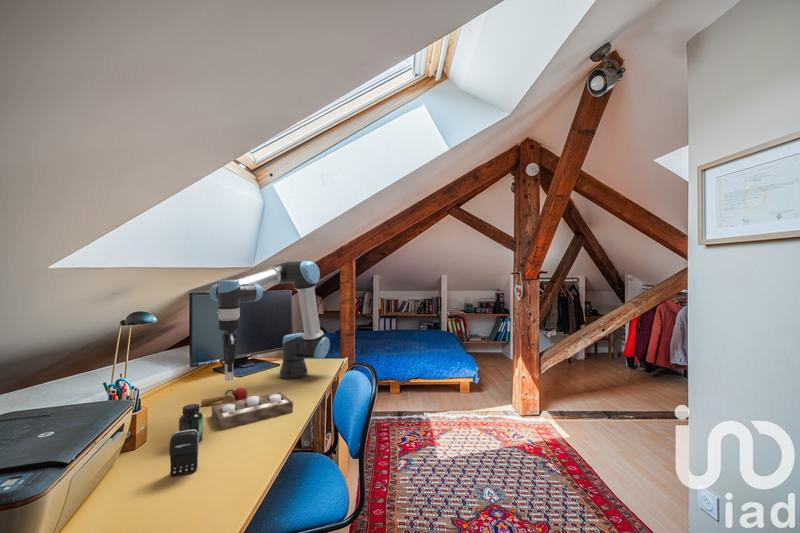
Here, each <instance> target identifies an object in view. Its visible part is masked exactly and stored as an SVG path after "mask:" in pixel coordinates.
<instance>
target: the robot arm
mask: <svg viewBox="0 0 800 533" xmlns="http://www.w3.org/2000/svg"><path fill="white" fill-rule="evenodd" d="M320 277H321V273H320V268H319V266H318V265H317V264H316V263H315V262H314V261H309V260H301V261H300V260H298V261H297V260H296V261H285V262H281V263H278V264H275V265H272V266H269V267H268V268H266V269H265V270H263V271H260V272H257V273H254V274H251V275H248V276H244V277H241V278H238V279H221V280H219V282H218V283H216V284H213V285H211V287H210V289H209V297H210V299H211V300H212V301H215V302H217V303H218V311H216V314H217V315H218V319H219V320H218V322H217V323H218V324H217V327H218V330H219V331H223V334H222V337H221V338H222V347H223V348H222V350H223V351H222V353H223V361H224V363H223V364H224V381H225V382H228V381H233V380H234V363H236V344H237V337H236V336H237V335H236V333H235V330H238V329H240V327H241V323H240V322H241V321H240V317H241V313H240V312H241V308H240V307H241V306H240V305H241V303H254V302H256V301H260V300H261V299H262V297H263V295H264V293H263V292H264V291H263V288H265V287H268V286H271V285H272V286H276V285H279V284H293V287H294V290H296V291H297V295H298V300H299V301H298V302H299V307H300V308H299V309H300V314H301V320H302V321H301V322H302V327H303V332H296V333H290V334H286V335H284V336H283V338H282V363H281V367H280V368H279V369H280V370H279V373H278V374H279V378H280V379H282V380H283V379H284V380H295V378H296V379H300V378H304V377H306V376H307V375H308V371H309V370H308V367H307V364H306V362H305V359H306V358H307V359H314V360H317V359H318V360H320V359H325V357H326V356H327V355H328V353H329V350H330V345H331V343H330V339H329V337H327V336H325V333H324V331H323V330H322V329H321V325H320V318H319V313H318V306H317V305H318V304H317V298H316V290H315V289H316V286H317V285H318V282H319V280H320Z"/></svg>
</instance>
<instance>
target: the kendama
mask: <svg viewBox="0 0 800 533" xmlns="http://www.w3.org/2000/svg"><path fill="white" fill-rule="evenodd" d="M247 398H248V391H247V389H245V388H244V387H238V388H236V389H234V388H229V389H227V390H226V391H225V393H224V395H221V396H214V397H213V396H212V397H207V398H202V399H201V402H200V403H201V407H206V406H208V405H212V404H216V403H219V402H222V404H224V403H229V402H234V401H238V400H243V399H247Z"/></svg>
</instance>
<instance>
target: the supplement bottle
mask: <svg viewBox="0 0 800 533" xmlns="http://www.w3.org/2000/svg"><path fill="white" fill-rule="evenodd" d="M181 412H182V413H181V414H182V415H181V416H180V417H179V419H178V432H179V431H184V430H191V429H194V430H197V432H198V435H199V443H201V442H202V441H203V428H204V426H203V425H204V424H203V421H204V420H203V413H202V412H201V411H200V404H199V403H191V404H186V405H184V406H183V407H182V411H181Z"/></svg>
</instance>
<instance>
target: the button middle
mask: <svg viewBox="0 0 800 533" xmlns="http://www.w3.org/2000/svg"><path fill="white" fill-rule="evenodd" d="M259 396H260V395H251V396H247V398H246V399H247V408H248V407H253V406H257V405H259Z"/></svg>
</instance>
